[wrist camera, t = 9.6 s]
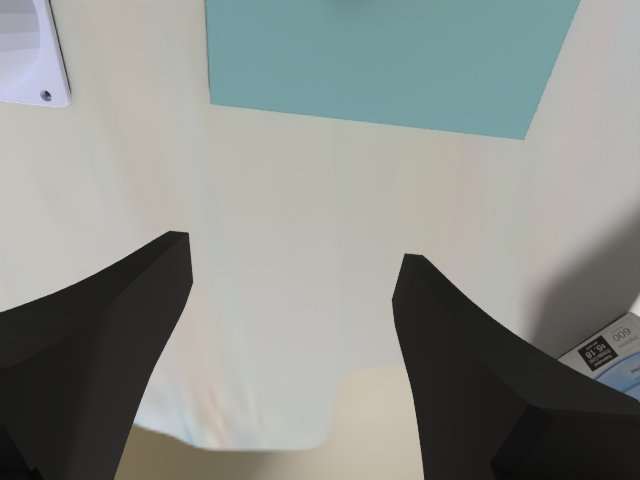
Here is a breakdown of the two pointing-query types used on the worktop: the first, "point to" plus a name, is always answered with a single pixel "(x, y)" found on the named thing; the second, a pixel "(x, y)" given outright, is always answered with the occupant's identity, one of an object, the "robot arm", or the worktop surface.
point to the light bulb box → (611, 356)
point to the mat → (389, 59)
